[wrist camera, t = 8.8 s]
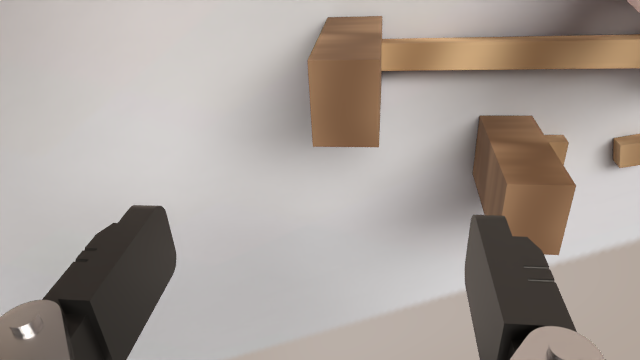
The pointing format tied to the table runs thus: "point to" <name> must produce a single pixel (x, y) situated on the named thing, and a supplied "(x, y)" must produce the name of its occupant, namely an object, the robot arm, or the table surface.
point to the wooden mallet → (427, 68)
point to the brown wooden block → (531, 176)
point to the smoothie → (635, 4)
